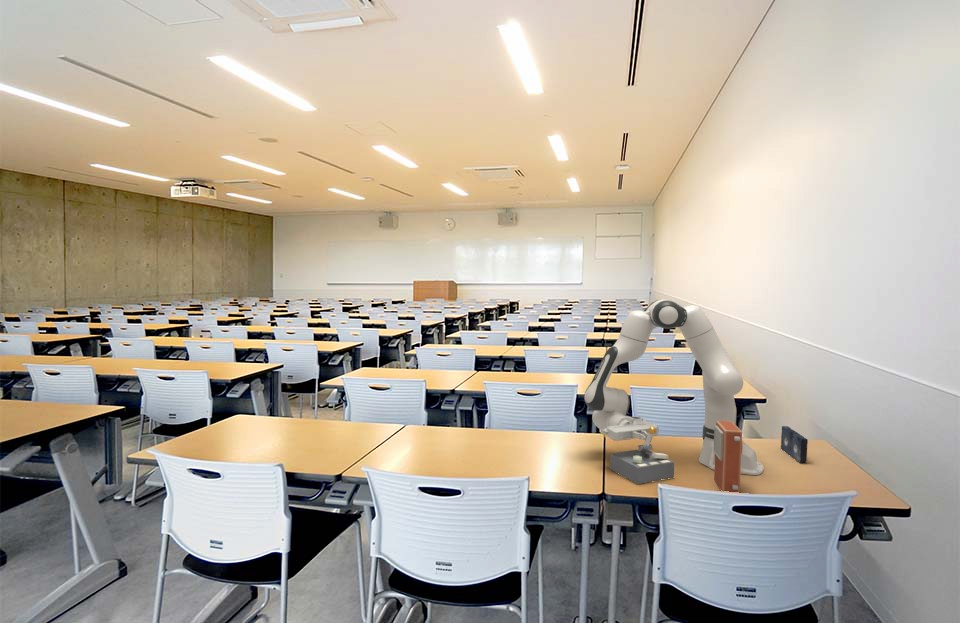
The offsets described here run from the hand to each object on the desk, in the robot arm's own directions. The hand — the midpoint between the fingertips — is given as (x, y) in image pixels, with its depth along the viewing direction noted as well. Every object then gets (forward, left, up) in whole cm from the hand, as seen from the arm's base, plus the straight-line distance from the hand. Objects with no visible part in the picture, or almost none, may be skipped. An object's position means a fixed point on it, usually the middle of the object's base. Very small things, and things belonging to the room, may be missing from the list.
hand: (646, 437), depth 192 cm
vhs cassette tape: (-44, -56, -15) cm, 72 cm away
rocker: (-4, -3, -7) cm, 9 cm away
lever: (+2, -2, -8) cm, 8 cm away
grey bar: (+2, -8, -8) cm, 12 cm away
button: (+2, +5, -8) cm, 10 cm away
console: (+2, -2, -14) cm, 14 cm away
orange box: (-26, -6, -14) cm, 30 cm away
